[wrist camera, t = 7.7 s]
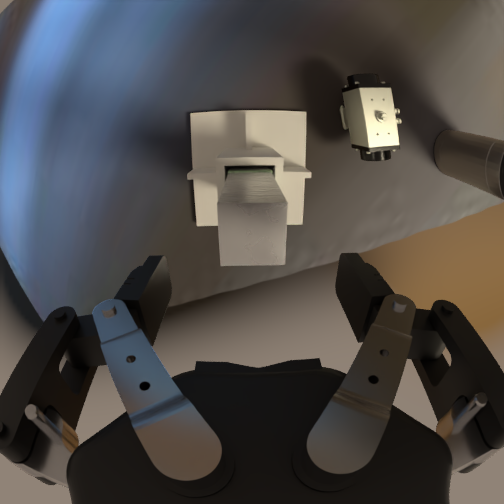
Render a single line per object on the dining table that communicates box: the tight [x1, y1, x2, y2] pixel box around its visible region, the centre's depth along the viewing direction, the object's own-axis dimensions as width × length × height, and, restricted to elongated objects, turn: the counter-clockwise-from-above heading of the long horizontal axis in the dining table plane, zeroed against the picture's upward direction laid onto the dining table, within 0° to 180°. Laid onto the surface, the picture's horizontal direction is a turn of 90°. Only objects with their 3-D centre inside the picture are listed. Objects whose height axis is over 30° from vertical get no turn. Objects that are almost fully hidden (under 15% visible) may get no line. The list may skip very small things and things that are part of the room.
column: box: [217, 165, 288, 266], centre depth 25 cm, size 4×4×20 cm
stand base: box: [187, 110, 311, 226], centre depth 33 cm, size 17×18×16 cm
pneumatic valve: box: [339, 74, 401, 161], centre depth 32 cm, size 6×12×12 cm, turn 12°
